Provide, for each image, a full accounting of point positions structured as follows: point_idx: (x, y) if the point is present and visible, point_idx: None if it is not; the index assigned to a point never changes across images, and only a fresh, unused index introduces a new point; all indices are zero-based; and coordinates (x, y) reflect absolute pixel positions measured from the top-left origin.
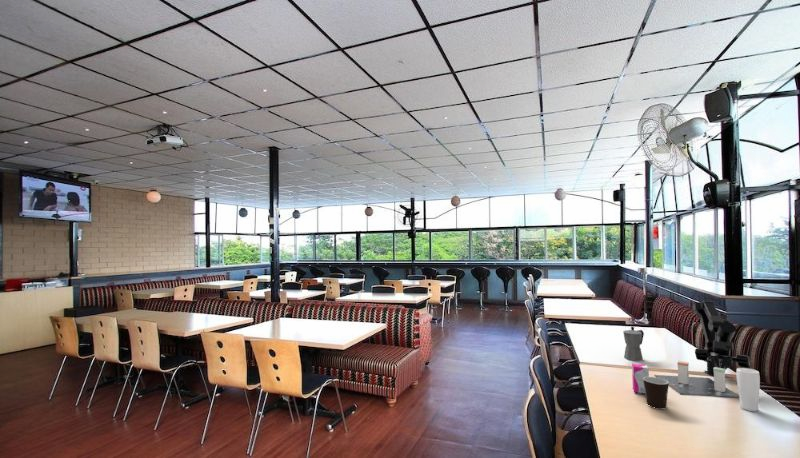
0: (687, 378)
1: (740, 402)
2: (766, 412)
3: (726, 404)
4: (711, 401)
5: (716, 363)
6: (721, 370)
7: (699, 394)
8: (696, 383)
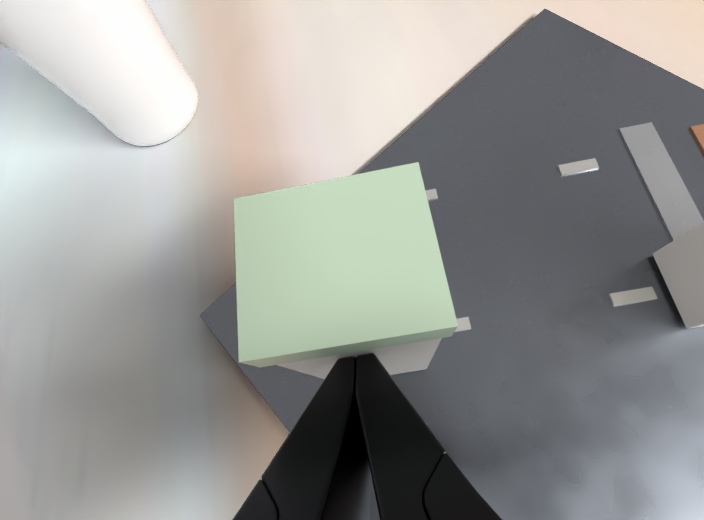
0: (702, 229)
1: (178, 58)
2: (80, 142)
3: (272, 84)
4: (351, 60)
5: (471, 504)
6: (283, 196)
7: (449, 94)
8: (638, 405)
